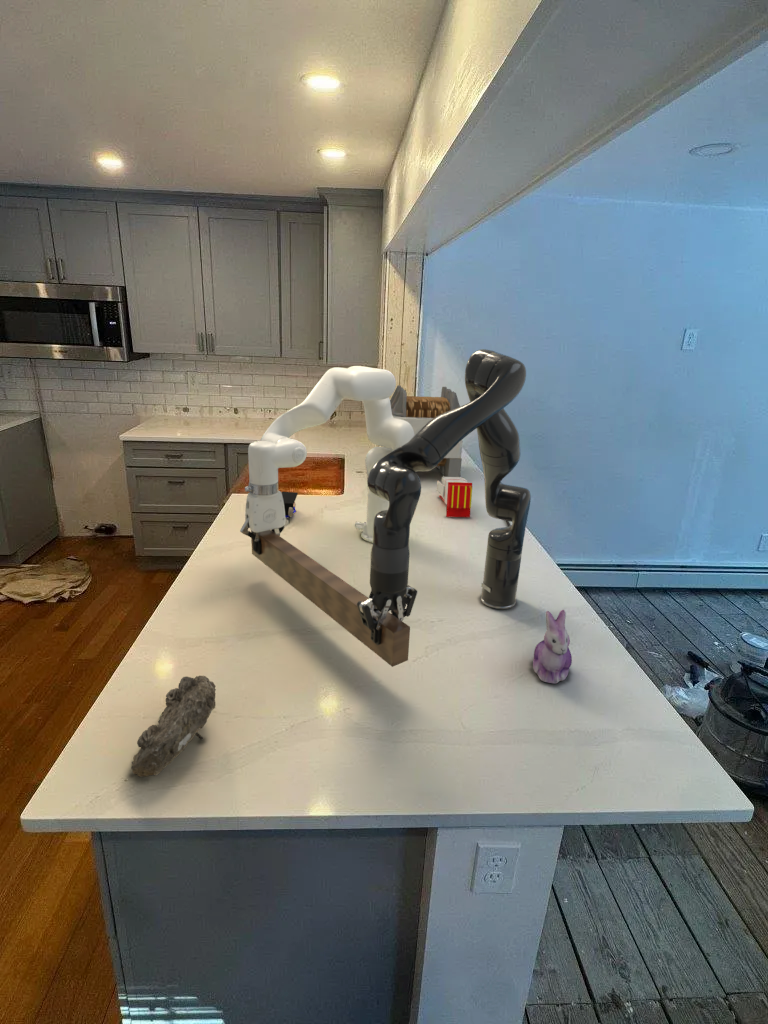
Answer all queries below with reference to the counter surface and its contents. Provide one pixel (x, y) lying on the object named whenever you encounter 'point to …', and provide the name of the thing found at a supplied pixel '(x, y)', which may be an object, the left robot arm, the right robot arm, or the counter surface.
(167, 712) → the fossil
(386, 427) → the left robot arm
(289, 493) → the figurine character
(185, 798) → the counter surface
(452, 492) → the toy
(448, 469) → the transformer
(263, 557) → the beam
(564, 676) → the figurine
